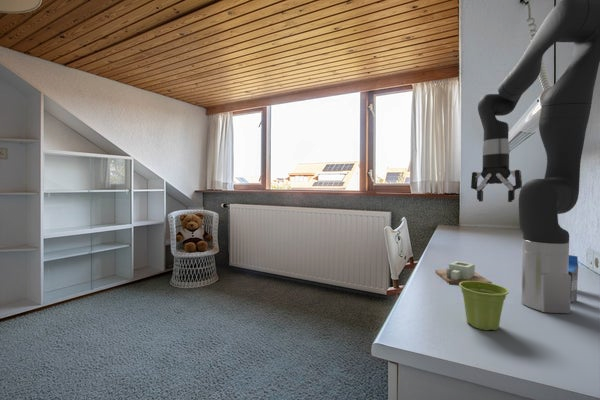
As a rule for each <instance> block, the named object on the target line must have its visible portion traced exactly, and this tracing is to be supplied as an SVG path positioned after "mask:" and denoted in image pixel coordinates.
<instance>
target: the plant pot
mask: <svg viewBox="0 0 600 400" xmlns="http://www.w3.org/2000/svg"><path fill="white" fill-rule="evenodd" d="M458 285H459V287H460V288H461V289H460V290H461V293H462V297H463V303H464V304H463V305H464V309H465V316H466V317H465V318H466V323H467V324H469V325H470V326H472V327H473V328H475V329H479V330H482V331H483V330H484V331H489V330H493V331H497V330H498V329H499V326H500V322H501V315H502V312H503V311H502V310H503V307H504V302H505V300H506V299H507V298H506V297H507V295H508V294H509V292H510V291H509V289H507V288H506V287H503V285H502V286H501V285H499V284H496V283H487V282H480V281H463V282H460V283H459V284H458Z"/></svg>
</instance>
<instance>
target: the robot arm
mask: <svg viewBox="0 0 600 400" xmlns="http://www.w3.org/2000/svg"><path fill="white" fill-rule="evenodd" d="M555 43H574V45H573V51H572V56H571V59H570V62H569V64H568V66H567V68H566V70H565V71H564V73H563V74H562V75H561V76H560V78H559V79H557V81H556V82H555V83H554V84H553V85H552V87H551V88H550V89H549V90H548V92H546V95H545V96H544V98H543V100H542V103H541V108H540V115H539V119H538V120H539V121H538V130H539V131H538V132H539V136H540V139H541V143H542V144H543V147H544V150H545V154H546V167H545V174H544V178H535V179H530V180H528V181H526V182H525V183H524V184H523V180H522V171H521V170H520V169H515V170H510V141H509V132H510V131H509V130H510V129H509V128H510V127H509V124H508V122H505V121H502V120H499V119H497V117H496V116H499V117H500V116H501V117H504V116H507V115H509V114H510V113H512V112H513V111H514V109H515V108H516V107H517V104H518V102H519V101H520V99H521V97H522V95H523V94H524V93H525V92H526V91H528V89H529V88H530V87H531V86H532V85H533V84H534V83H535V82H536V81H537V79H538V78H539V76H540V73H541V69H542V62H543V57H544V55H545V53H546V52H547V51H548V50H549V48H552V46H553V45H554V44H555ZM599 67H600V0H560V1H559V2H558V3H557V4H555V6H554V7H553V8H552V9H551V11H549V13H548V14H547V16H546V18H545V19H544V20H543V21H542V23H541V25H540V26H539V28H538V30H537V31H536V33H535V35H534V36H533V37H532V39H531V41H530V42H529V44H528V46H527V48H526V49H525V50H524V53H523V55H522V56H521V57H520V59H519V61H518V62H517V63H516V65H515V66H514V67H513V68H512V69H511V71H509V73H508V74H507V75H506V76H505V78H504V79H503V80H502V81H501V83H500V84H499V86H498V88H497V92H498V93H488V94H484V95H483V96H482V97H481V98H480V99H479V101H478V104H477V112H478V116H479V118H480V121H481V126H482V128H483V145H482V170H481V172H478V171H473V172H471V182H470V188H471V190H475V191H476V199H477V200H478V202H481V203H482V202H484V188H485V187H486V186H488V185H493V184H494V185H495V184H498V185H502V184H503V185H504V186H506V188H507V189H508V191H507V202H508V203H513V201H515V197H516V194H515V193H516V190H519V189H520V191H519V193H518V194H519V195H518V221H519V222H518V223H519V229H520V230H521V232H522V255H521V256H522V257H521V258H522V262H521V263H522V264H521V268H522V269H521V304H523V305H524V306H526V307H528V308H531V309H534V310H537V311H539V312H542V313H551V314H570V313H571V302H570V293H571V276H570V275H569V274H568V265H569V255H570V233H569V231H568V230H566V229H564V228H563V227H561V225H560V224H559V215H560V214H561V215H562V214H565V213H569V212H570V211H571V210H572V209H573V208H574V207H575V206H576V205H577V203H578V199H579V194H580V182H581V181H580V180H581V179H580V177H581V175H580V174H581V162H582V161H581V160H582V155H583V150H584V145H585V138H586V133H587V129H588V124H589V119H590V114H591V108H592V104H593V96H594V91H595V86H596V85H595V84H596V80H597V76H598V72H599ZM510 175H512V176H513V178H514V180H515V185H514V184H513V183H512V182H511V181H510V180H509V179H508V178H509V177H510ZM480 177H481V178H483V180H482V181H481V182H480V184H479V185H478V180H479V179H480Z"/></svg>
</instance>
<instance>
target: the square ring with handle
mask: <svg viewBox="0 0 600 400" xmlns="http://www.w3.org/2000/svg"><path fill="white" fill-rule="evenodd" d="M475 264H476V263H470V262H469V263H468V262H464V261H463V262H462V261H457V260H456V261H453V262H450V263H449V264H448V268H450V269H452V271H451V279H454V280H459V279H461V278H463V279H470V278H471V277H473V276H474V275H475V273H476V271H475V269H476V268H475V267H476V265H475ZM462 265H465V266H462Z"/></svg>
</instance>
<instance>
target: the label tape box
mask: <svg viewBox="0 0 600 400" xmlns="http://www.w3.org/2000/svg"><path fill="white" fill-rule="evenodd" d="M578 260H579V259H578V256H577V255H571V254H569V265H568V274H569V275H570V276H571V293H570V303H574V302H576V301H577V299H578V275H579V274H578V273H579V261H578Z"/></svg>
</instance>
